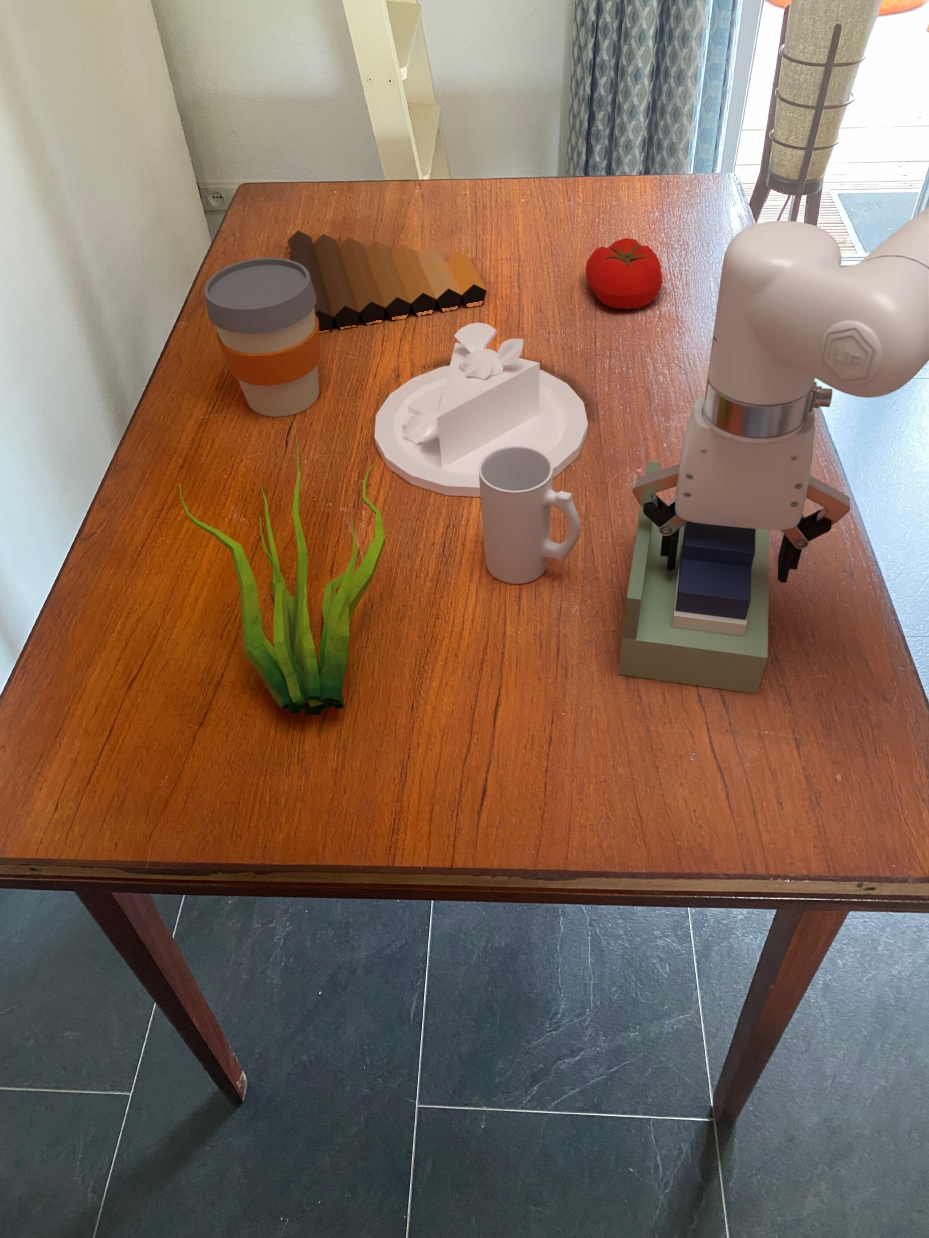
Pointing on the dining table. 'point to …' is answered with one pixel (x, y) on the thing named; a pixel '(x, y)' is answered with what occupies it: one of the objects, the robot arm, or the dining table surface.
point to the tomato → (624, 274)
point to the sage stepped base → (685, 651)
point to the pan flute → (381, 279)
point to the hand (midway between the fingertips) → (726, 565)
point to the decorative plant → (301, 618)
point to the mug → (522, 514)
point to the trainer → (714, 578)
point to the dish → (477, 415)
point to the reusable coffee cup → (268, 332)
